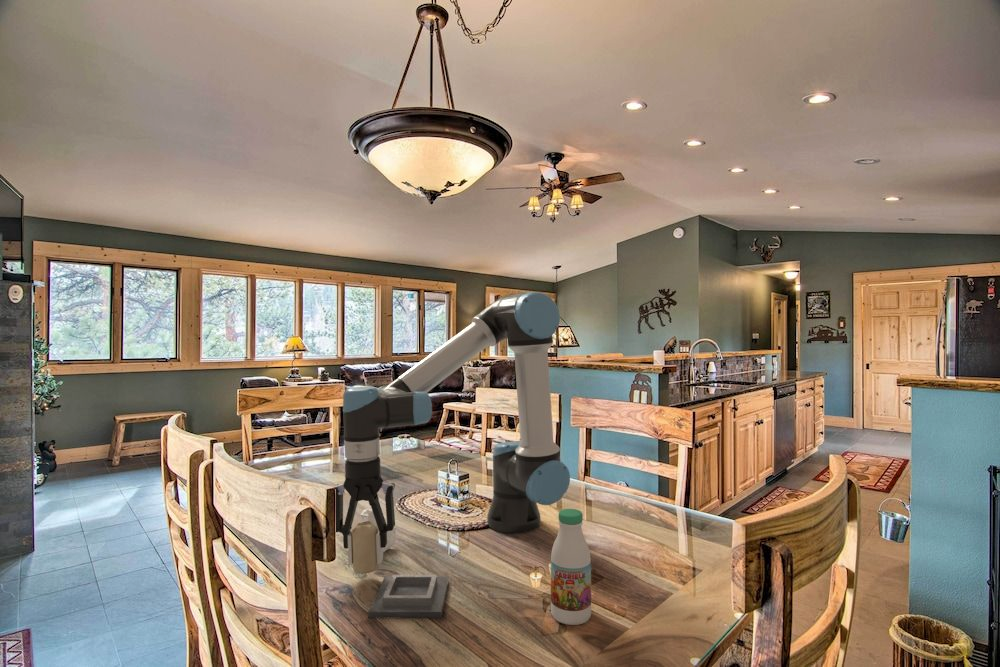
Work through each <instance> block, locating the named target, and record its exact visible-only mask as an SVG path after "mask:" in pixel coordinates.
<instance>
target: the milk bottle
mask: <svg viewBox="0 0 1000 667" xmlns="http://www.w3.org/2000/svg"><path fill="white" fill-rule="evenodd" d="M583 516H584V515H583V512H582V511H581V510H579V509H576V508H564V509H560V510H559V512H558V524H559V528H558V533H557V535H556V538H555V540H554V542H553V545H552V548H551V555H550V613H551V615H552V617H553V619H554V620H555V621H557V622H558V623H561V624H563V625H568V626H579V625H582V624H585V623H587V622H588V621H589V620H590V618H591V615H592V562H591V561H592V560H591V553H590V552H591V551H590V548H589V545H588V543H587V540H586V538H585V536H584V532H583V529H582V525H583V524H584V523H583Z"/></svg>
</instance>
